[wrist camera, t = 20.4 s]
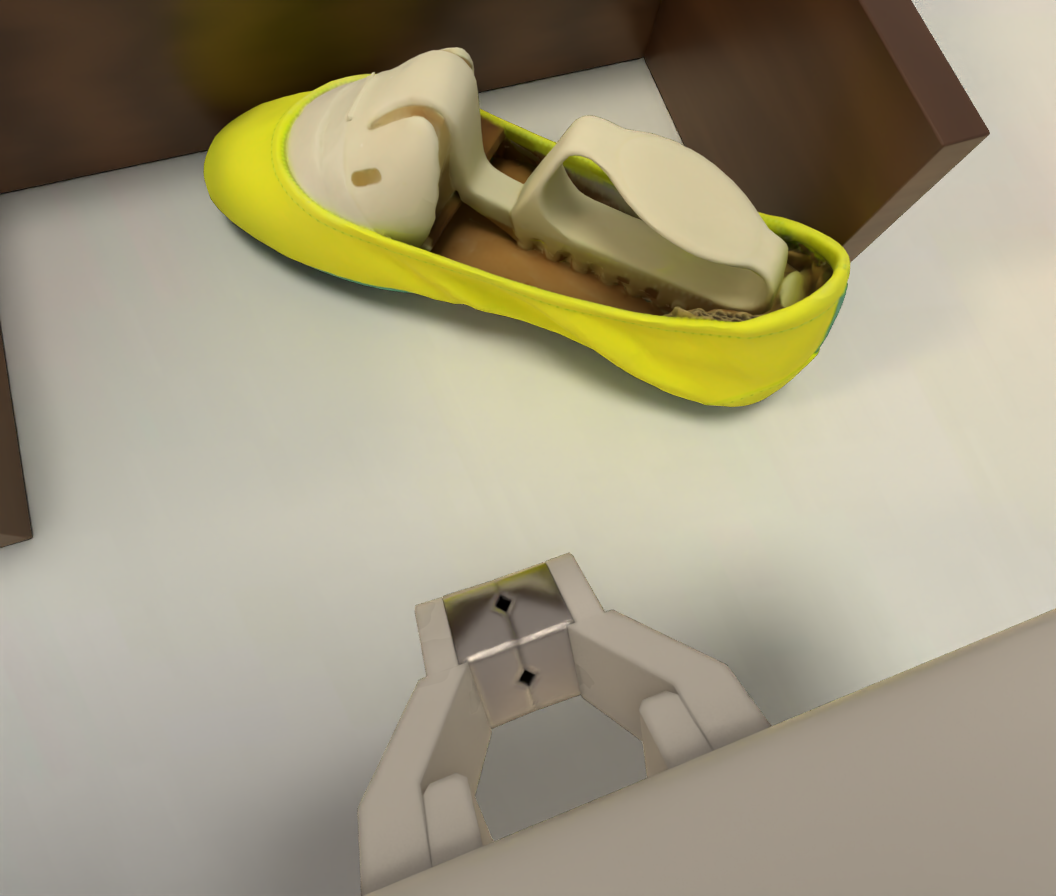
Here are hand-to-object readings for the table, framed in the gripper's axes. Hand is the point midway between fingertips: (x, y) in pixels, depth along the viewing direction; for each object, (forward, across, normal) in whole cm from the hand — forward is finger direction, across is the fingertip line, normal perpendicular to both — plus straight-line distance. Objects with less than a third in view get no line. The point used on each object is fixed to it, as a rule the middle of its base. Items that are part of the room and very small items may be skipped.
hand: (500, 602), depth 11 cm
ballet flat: (+17, -5, -1) cm, 17 cm away
